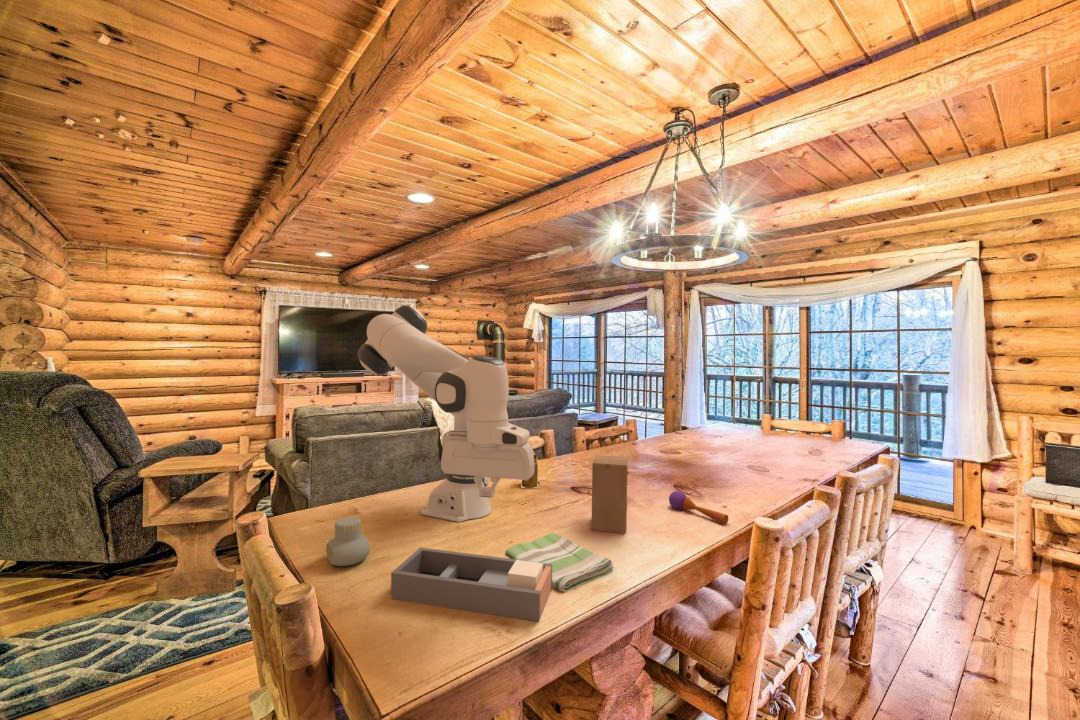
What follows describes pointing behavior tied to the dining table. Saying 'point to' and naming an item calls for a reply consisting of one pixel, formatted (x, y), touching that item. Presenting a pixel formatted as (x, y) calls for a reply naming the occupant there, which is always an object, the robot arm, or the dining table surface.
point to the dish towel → (563, 560)
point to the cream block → (525, 574)
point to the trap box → (468, 584)
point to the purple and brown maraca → (694, 507)
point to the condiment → (534, 479)
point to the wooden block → (609, 494)
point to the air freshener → (347, 543)
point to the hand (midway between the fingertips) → (486, 496)
